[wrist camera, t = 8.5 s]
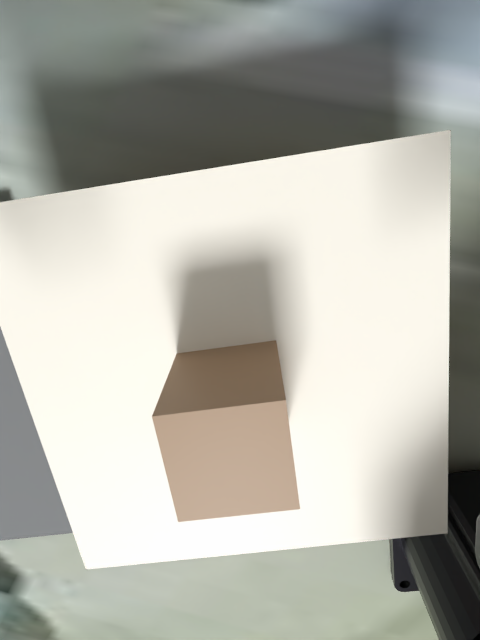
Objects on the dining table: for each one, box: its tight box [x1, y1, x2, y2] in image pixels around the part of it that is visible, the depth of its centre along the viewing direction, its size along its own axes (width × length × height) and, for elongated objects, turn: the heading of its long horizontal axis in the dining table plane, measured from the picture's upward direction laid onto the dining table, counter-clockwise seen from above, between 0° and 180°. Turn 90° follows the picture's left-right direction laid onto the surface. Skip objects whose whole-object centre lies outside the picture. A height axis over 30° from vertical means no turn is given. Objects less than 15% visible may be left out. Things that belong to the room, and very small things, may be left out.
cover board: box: [0, 130, 451, 569], centre depth 12 cm, size 13×13×4 cm
